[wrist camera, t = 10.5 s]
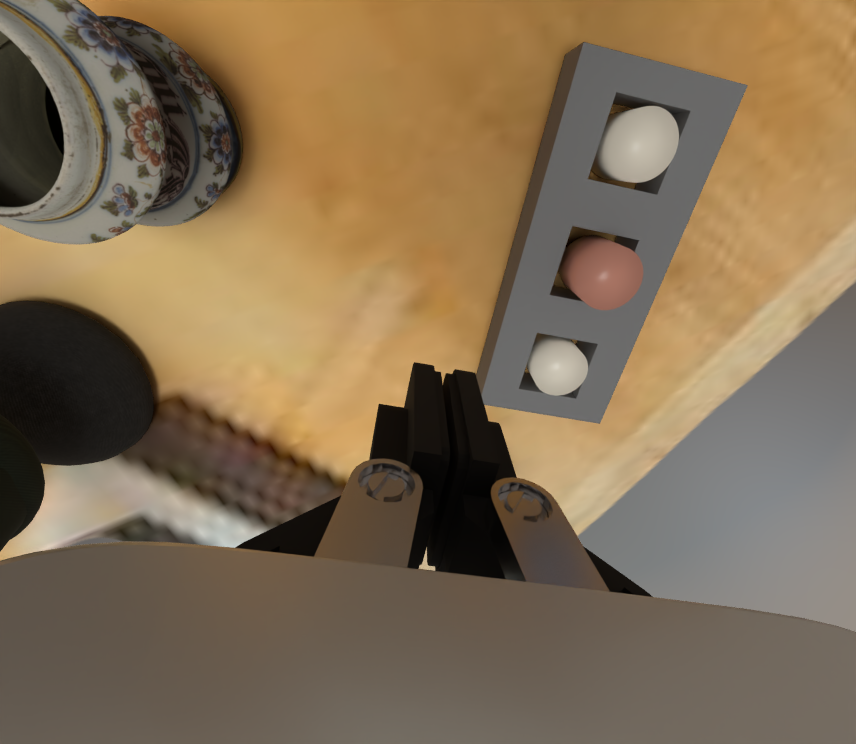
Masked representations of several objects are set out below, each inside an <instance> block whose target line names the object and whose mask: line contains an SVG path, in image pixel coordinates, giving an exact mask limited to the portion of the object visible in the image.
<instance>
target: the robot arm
mask: <svg viewBox="0 0 856 744" xmlns="http://www.w3.org/2000/svg"><path fill="white" fill-rule="evenodd" d="M426 547H427V562H428V565H429V566H435V571H432V570H423V569H418V568H419V565H421V564H422V562H423V558H424V555H425V551H426ZM0 744H856V632H854V631H851V630H848V629H845V628H842V627H839V626H834V625H830V624H826V623H822V622H817V621H813V620H809V619H805V618H799V617H794V616H787V615H781V614H775V613H769V612H762V611H756V610H750V609H743V608H735V607H727V606H719V605H712V604H704V603H696V602H688V601H680V600H671V599H664V598H655V597H652V596H651V595H650V594H649V593H647V592H646V591H645V590H644V589H642V588H641V587H639V586H638V585H636V584H635V583H634V582H632V581H631V580H629V579H628V578H627V577H625V576H624V575H623V574H621V573H620V572H618V571H617V570H616V569H614V568H613V567H611V566H610V565H609V564H607V563H606V562H604V561H603V560H602V559H600V558H599V557H597V556H596V555H595V554H593V553H592V552H590V551H589V550H588V549H586V548H585V547H583V546H582V544H581V542H580V540H579V539H578V537H577V535H576V534H575V532H574V530H573V529H572V527H571V525H570V524H569V522H568V520H567V518H566V517H565V515H564V513H563V512H562V510H561V508H560V507H559V505H558V503H557V502H556V500H555V499H554V498H553V497H552V495H551V494H550V493H548V492H547V491H546V490H545V489H544V488H542V487H540V486H539V485H537V484H535V483H533V482H530V481H528V480H525V479H520V478H517V477H516V474H515V471H514V467H513V464H512V461H511V458H510V455H509V452H508V448H507V445H506V442H505V439H504V436H503V433H502V429H501V426H500V424H499V423H496V422H489V421H488V418H487V414H486V410H485V407H484V403H483V399H482V396H481V392H480V389H479V385H478V381H477V378H476V374H475V373H473V372H467V371H462V370H456V369H455V370H454V372H453V374H448V373H446V375H445V378H444V382H443V386H442V377H441V372H436V371H435V370H434V366H433V365H427V364H421V363H415V362H414V364H413V367H412V372H411V377H410V382H409V387H408V391H407V396H406V401H405V406H404V408H402V407H396V406H389V405H383V404H379V406H378V412H377V418H376V423H375V429H374V435H373V441H372V447H371V453H370V459H369V460H368V461H365V462H363V463H361V464H360V465H358V466H357V467H356V468H355V469H354V470H353V472H352V473H351V475H350V478H349V480H348V482H347V484H346V487H345V489H344V491H343V493H342V495H341V496H339V497H337V498H335V499H333V500H331V501H329V502H327V503H325V504H323V505H320V506H318V507H316V508H314V509H312V510H310V511H308V512H306V513H304V514H302V515H300V516H298V517H296V518H293V519H291V520H289V521H287V522H285V523H283V524H281V525H279V526H277V527H275V528H273V529H271V530H269V531H266V532H264V533H262V534H260V535H258V536H256V537H254V538H252V539H250V540H248V541H246V542H244V543H242V544H240V545H239V546H237V547H236V548H230V547H218V546H206V545H194V544H181V543H169V542H112V543H97V544H83V545H76V546H70V547H64V548H58V549H51V550H45V551H39V552H33V553H29V554H25V555H21V556H17V557H13V558H9V559H5V560H2V561H0Z"/></svg>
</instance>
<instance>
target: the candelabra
mask: <svg viewBox="0 0 856 744" xmlns="http://www.w3.org/2000/svg"><path fill="white" fill-rule="evenodd" d="M153 410H154V404H153V394H152V389H151V385H150V382H149V380H148V377H147V375H146V373H145V371H144V369H143V367H142V365H141V363H140V361H139V359H138V358H137V357H136V356H135V355H134V354H133V353H132V352H131V350H130V349H129V348H128V347H127V346H126V344H125V343H124V342H123V341H122V340H121V339H120V337H118V336H116V335H115V334H113V333H112V332H110V331H109V330H108V329H107V328H105V327H104V326H103V325H101V324H100V323H98V322H97V321H95V320H93V319H91V318H89V317H87V316H85V315H83V314H81V313H78V312H76V311H74V310H71V309H68V308H65V307H62V306H59V305H55V304H50V303H45V302H37V301H17V302H9V303H5V304H1V305H0V551H1V550H2V549H3V547H4V546H5V545H6V544H7V542H8V541H9V540H10V539H12V538H14V537H15V536H17V535H18V534H19V533H20V532H21V531H22V530H23V529H25V528H26V527H27V526H28V525H29V524H30V522H31V521H32V520H33V518H34V517H35V515H36V513H37V512H38V510H39V509H40V506H41V503H42V500H43V496H44V487H45V480H44V474H43V469H42V466H41V463H43V464H51V465H66V466H70V465H81V464H89V463H95V462H99V461H104V460H107V459H109V458H112V457H114V456H116V455H118V454H120V453H121V452H123V451H125V450H126V449H128V448H130V447H131V446H133V445H134V444H135V443H137V442H138V441H139V440H140V439H141V438H142V437H143V435H144V434H145V432H146V431H147V430H148V428H149V425H150V423H151V420H152V416H153Z"/></svg>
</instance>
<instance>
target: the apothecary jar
mask: <svg viewBox="0 0 856 744" xmlns="http://www.w3.org/2000/svg"><path fill="white" fill-rule="evenodd" d="M242 149H243V147H242V135H241V130H240V126H239V122H238V119H237V117H236V114H235V112H234V109H233V107H232V105H231V104H230V102H229V100H228V99H227V97H226V96H225V94H224V93H223V91H222V90H221V89H220V88H219V86H218V85H217V84H216V83H215V82H214V81H213V80H212V79H211V78H210V77H209V76H208V75H206V74H205V73H204V72H203V71H202V69H201V68H200V67H199V66H198V64H197V63H196V62H195V61H194V60H193V59H192V58H191V57H190V56H189V55H188V54H187V53H186V52H185V51H184V50H183V49H182V48H181V47H179V46H178V45H177V44H176V43H174V42H173V41H172V40H170V39H169V38H167V37H166V36H165V35H163V34H161V33H160V32H158V31H156V30H154V29H152V28H151V27H148V26H146V25H144V24H142V23H139V22H136V21H133V20H130V19H126V18H121V17H114V16H97V15H96V14H95V13H93V12H92V11H91V10H90V9H89V8H87V7H86V6H85V5H84V4H82V3H81V2H80V1H78V0H0V224H1V225H3V226H5V227H7V228H9V229H12V230H14V231H17V232H19V233H22V234H24V235H27V236H30V237H33V238H37V239H41V240H45V241H50V242H55V243H63V244H90V243H97V242H101V241H105V240H108V239H111V238H113V237H115V236H118V235H120V234H122V233H124V232H126V231H128V230H129V229H130V228H132V227H133V226H134V225H136V224H140V225H147V226H172V225H178V224H182V223H185V222H188V221H190V220H192V219H194V218H196V217H198V216H200V215H201V214H203V213H204V212H205V211H207V210H208V209H209V208H210V207H211V206H212V205H213V204H214V203H215V201H216V200H217V199H218V197H219V196H220V194H221V193H223V192H224V191H225V190H226V189H227V188H228V187H229V186H230V185H231V183H232V182H233V181H234V179H235V177H236V175H237V173H238V170H239V167H240V164H241V159H242Z"/></svg>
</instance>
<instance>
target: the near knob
mask: <svg viewBox="0 0 856 744" xmlns="http://www.w3.org/2000/svg"><path fill="white" fill-rule="evenodd" d="M678 142H679V131H678V126H677V123H676V121H675V119H674V117H673V116H672V115H671V114H670V113H669V112H668V111H667V110H665V109H663V108H661V107H658V106H645V107H641V108H636V109H631V110H627V111H622V112H618V113H614V114H611V115H609V116H608V119H607V122H606V125H605V128H604V131H603V134H602V137H601V140H600V143H599V146H598V149H597V152H596V155H595V159H594V162H593V165H592V168H591V170H592V171H593V172H594V173H595V174H596V175H597V176H599V177H601V178H604V179H609V180H617V181H625V182H634V183H640V182H645V181H649V180H651V179H653V178H655V177H657V176H658V175H659V174H661V173H662V172H663V171H664V170H665V169H666V168H667V167H668V165H669V164H670V163H671V161H672V159H673V158H674V155H675V153H676V150H677V147H678Z"/></svg>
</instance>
